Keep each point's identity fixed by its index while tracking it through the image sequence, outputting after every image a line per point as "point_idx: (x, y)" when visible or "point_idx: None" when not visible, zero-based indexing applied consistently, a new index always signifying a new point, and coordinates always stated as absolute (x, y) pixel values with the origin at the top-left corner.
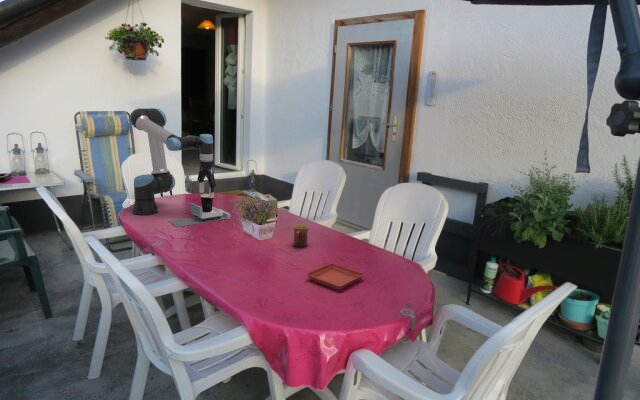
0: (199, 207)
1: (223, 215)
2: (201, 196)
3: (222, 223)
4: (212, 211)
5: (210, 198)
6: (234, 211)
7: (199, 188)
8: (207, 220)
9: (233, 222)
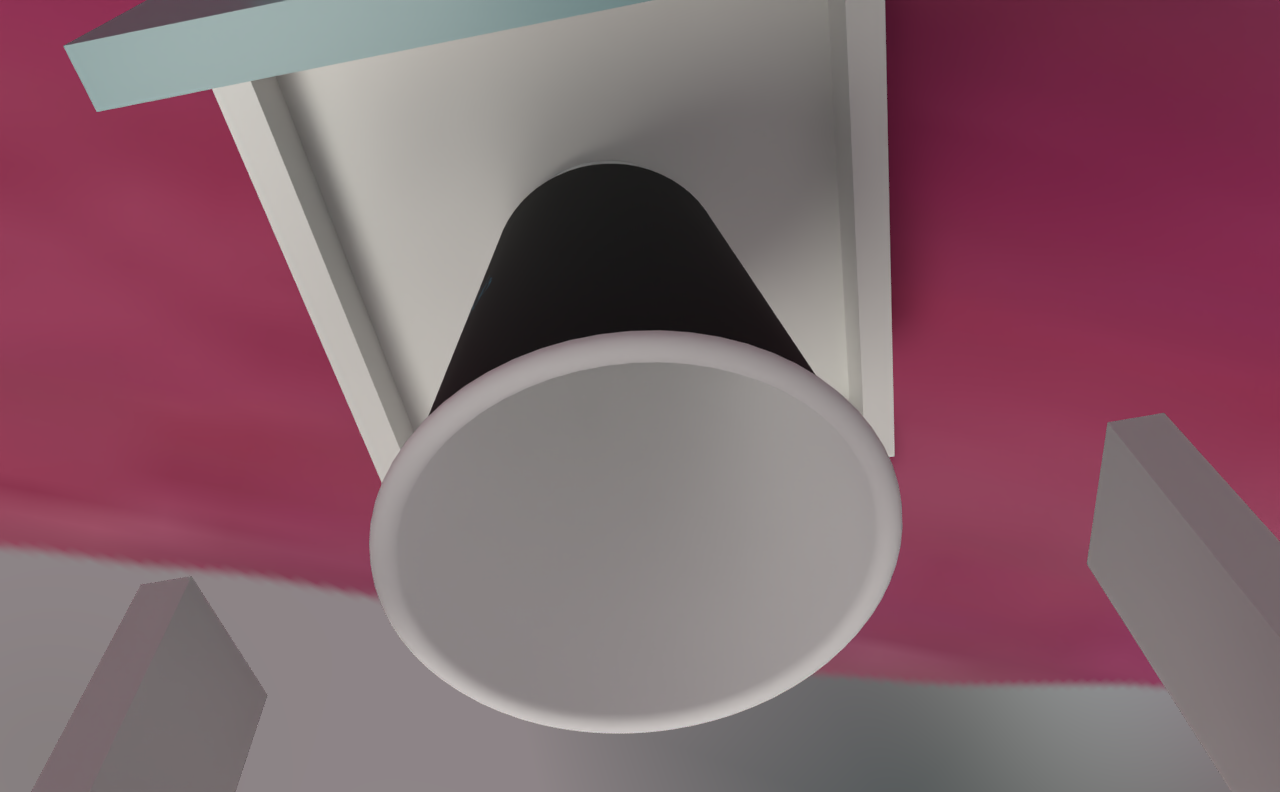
0: (123, 31)
1: None
2: (531, 360)
3: (184, 374)
4: None
5: (429, 578)
6: (864, 668)
7: (1272, 566)
8: None
9: (223, 537)
